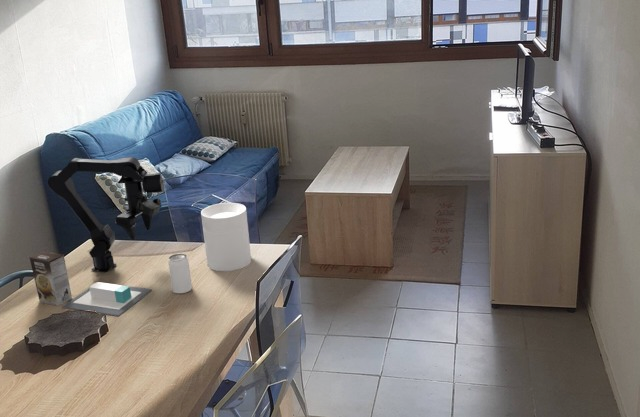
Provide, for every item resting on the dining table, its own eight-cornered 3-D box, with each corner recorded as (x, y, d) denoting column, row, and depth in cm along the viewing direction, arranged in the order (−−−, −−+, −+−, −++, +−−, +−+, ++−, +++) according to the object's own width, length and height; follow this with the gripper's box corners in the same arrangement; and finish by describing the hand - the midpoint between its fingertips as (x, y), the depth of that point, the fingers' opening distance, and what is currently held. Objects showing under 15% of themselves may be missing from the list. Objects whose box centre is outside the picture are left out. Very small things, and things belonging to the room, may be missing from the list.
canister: (199, 269, 227) (192, 217, 221) (218, 251, 242) (213, 201, 235) (240, 273, 223) (235, 219, 216) (257, 254, 237) (253, 203, 230)
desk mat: (62, 307, 205) (61, 306, 205) (98, 283, 221) (97, 281, 221) (118, 316, 198) (118, 314, 198) (151, 290, 214) (151, 288, 213)
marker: (91, 298, 209) (89, 287, 208) (99, 292, 213) (97, 281, 211) (124, 303, 205) (122, 292, 203) (131, 297, 208) (129, 286, 207)
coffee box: (38, 301, 210) (28, 257, 205) (54, 293, 216) (44, 249, 210) (57, 306, 206) (47, 261, 201) (73, 298, 212) (64, 253, 206)
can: (190, 293, 210) (185, 260, 206) (170, 294, 210) (165, 261, 206) (194, 284, 216) (189, 252, 212) (175, 285, 216) (170, 253, 212)
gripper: (138, 204, 213) (145, 247, 218) (168, 186, 229) (174, 227, 235) (110, 201, 217) (118, 244, 222) (142, 185, 233) (148, 224, 238)
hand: (141, 234), depth 229 cm, fingers open, 9 cm apart
